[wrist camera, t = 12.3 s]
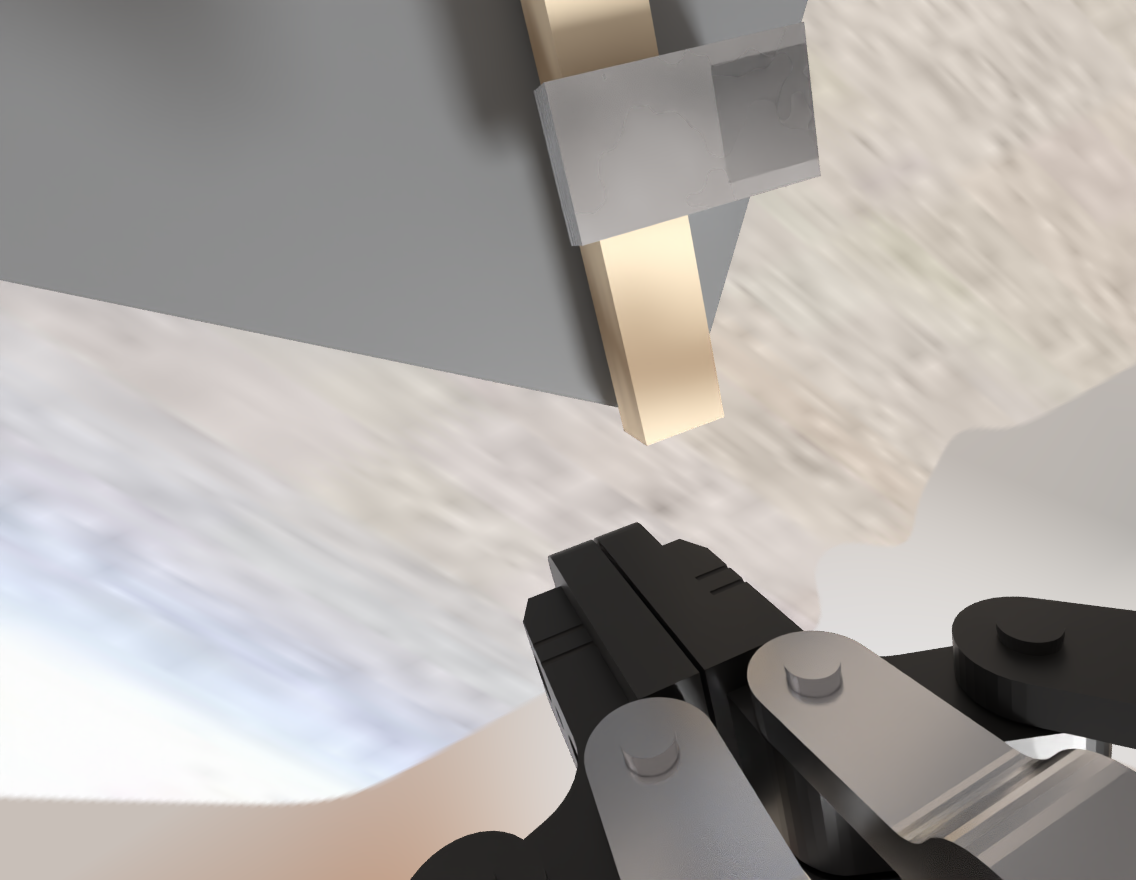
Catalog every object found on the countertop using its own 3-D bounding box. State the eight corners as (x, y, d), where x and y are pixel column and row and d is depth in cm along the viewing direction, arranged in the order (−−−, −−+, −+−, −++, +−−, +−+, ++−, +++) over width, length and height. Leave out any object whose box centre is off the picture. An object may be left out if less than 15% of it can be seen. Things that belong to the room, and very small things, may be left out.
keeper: (502, 118, 21) (544, 82, 16) (713, 66, 22) (803, 21, 18) (536, 246, 22) (582, 245, 18) (732, 189, 24) (820, 176, 19)
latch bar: (412, -318, 17) (422, -411, 14) (569, -333, 18) (603, -422, 15) (602, 434, 24) (630, 454, 22) (707, 396, 25) (745, 411, 23)
